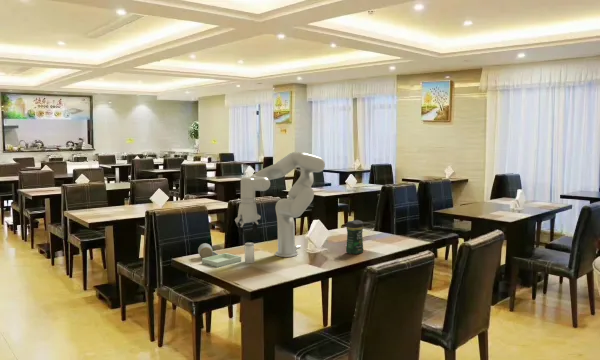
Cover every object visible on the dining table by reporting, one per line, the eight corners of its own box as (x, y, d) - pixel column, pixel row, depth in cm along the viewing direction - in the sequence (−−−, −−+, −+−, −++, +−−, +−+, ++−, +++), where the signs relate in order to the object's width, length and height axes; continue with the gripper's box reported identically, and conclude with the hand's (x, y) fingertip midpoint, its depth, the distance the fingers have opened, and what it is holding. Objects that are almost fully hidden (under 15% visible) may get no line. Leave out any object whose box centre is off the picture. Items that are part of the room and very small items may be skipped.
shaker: (250, 260, 261) (249, 242, 260) (256, 261, 258) (255, 243, 257) (243, 262, 258) (242, 243, 257) (249, 263, 254) (248, 244, 253)
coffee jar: (354, 255, 269) (354, 222, 267) (343, 253, 275) (343, 220, 273) (365, 252, 275) (365, 220, 274) (355, 250, 281) (355, 218, 280)
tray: (225, 257, 268) (225, 252, 268) (241, 261, 259) (241, 256, 259) (202, 263, 256) (201, 258, 256) (217, 267, 248) (217, 262, 247)
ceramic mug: (199, 260, 262) (199, 246, 262) (198, 257, 270) (197, 243, 270) (219, 259, 266) (219, 245, 265) (217, 255, 274) (217, 242, 273)
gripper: (255, 199, 264) (255, 230, 265) (230, 201, 251) (230, 234, 252) (264, 200, 259) (264, 231, 260) (240, 203, 246) (240, 236, 247)
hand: (248, 233), depth 256 cm, fingers open, 9 cm apart
